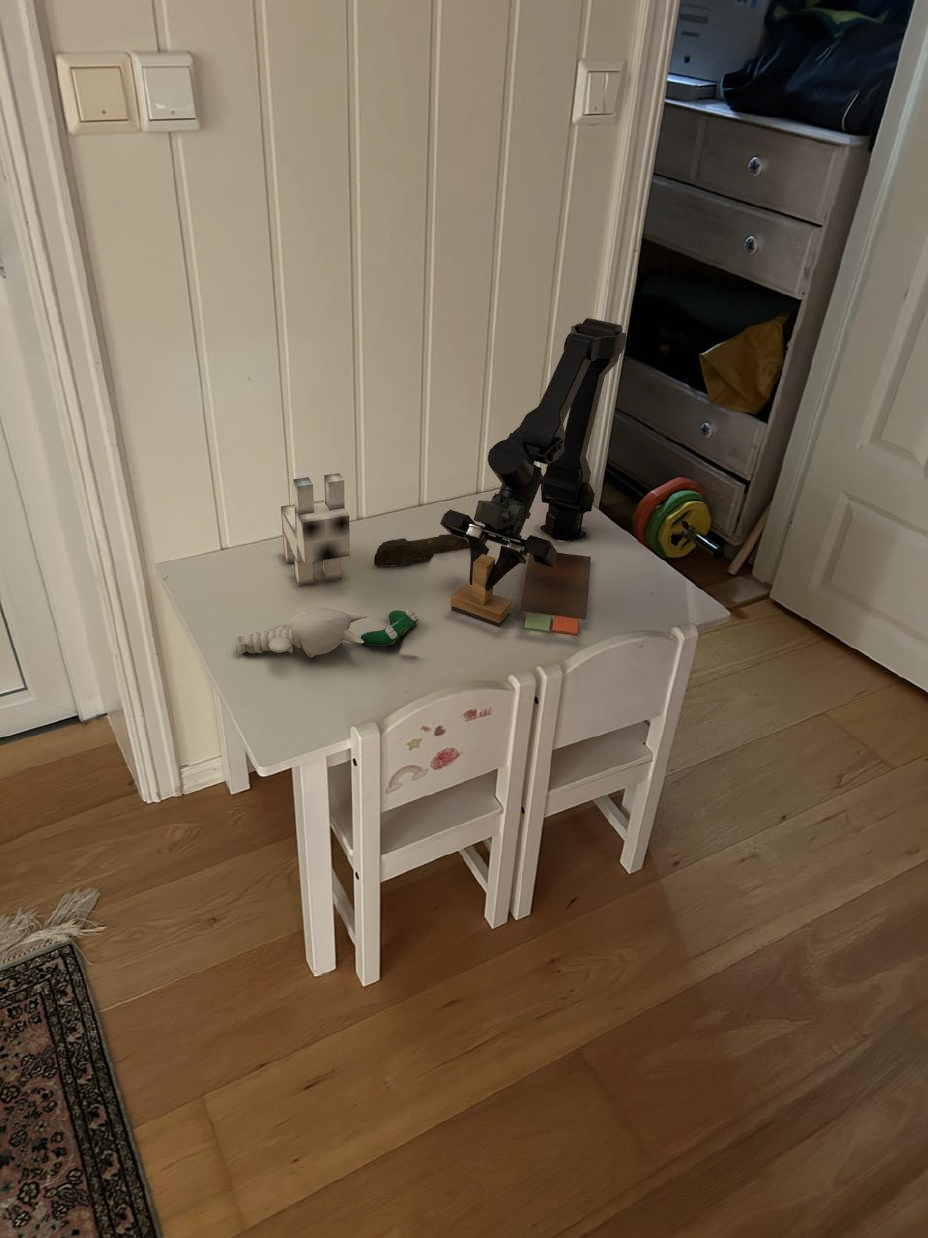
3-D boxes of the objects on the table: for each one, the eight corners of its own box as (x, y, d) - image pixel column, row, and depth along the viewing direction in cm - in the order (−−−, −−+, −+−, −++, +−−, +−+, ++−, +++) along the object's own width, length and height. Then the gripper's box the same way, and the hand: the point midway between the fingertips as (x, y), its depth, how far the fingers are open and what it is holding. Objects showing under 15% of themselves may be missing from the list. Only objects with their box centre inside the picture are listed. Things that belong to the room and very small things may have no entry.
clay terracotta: (552, 625, 152) (554, 615, 150) (577, 628, 151) (578, 618, 150) (550, 639, 148) (552, 629, 147) (575, 643, 148) (577, 633, 147)
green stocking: (369, 659, 145) (392, 647, 140) (355, 638, 144) (378, 626, 140) (403, 630, 151) (426, 618, 147) (390, 611, 151) (413, 598, 146)
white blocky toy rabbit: (321, 542, 169) (317, 440, 157) (350, 594, 156) (348, 487, 144) (280, 549, 166) (273, 445, 154) (306, 602, 153) (301, 493, 141)
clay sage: (525, 623, 152) (526, 613, 151) (549, 626, 151) (551, 616, 150) (523, 637, 149) (524, 627, 147) (547, 640, 148) (549, 630, 147)
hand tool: (469, 544, 171) (470, 522, 168) (477, 555, 168) (478, 532, 165) (370, 559, 165) (369, 537, 162) (376, 571, 162) (376, 548, 159)
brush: (462, 604, 155) (465, 545, 148) (510, 621, 152) (516, 562, 145) (449, 617, 152) (452, 558, 145) (498, 635, 149) (504, 575, 142)
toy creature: (240, 608, 145) (367, 592, 145) (249, 652, 147) (374, 637, 147) (223, 631, 133) (362, 614, 133) (233, 679, 135) (370, 662, 135)
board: (529, 555, 169) (530, 548, 168) (589, 563, 168) (591, 556, 167) (518, 618, 153) (519, 610, 152) (585, 627, 152) (586, 619, 151)
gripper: (448, 463, 144) (410, 555, 142) (558, 495, 137) (519, 592, 136) (469, 489, 154) (433, 575, 153) (573, 520, 148) (536, 610, 146)
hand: (478, 587), depth 147 cm, fingers closed on brush, 2 cm apart
